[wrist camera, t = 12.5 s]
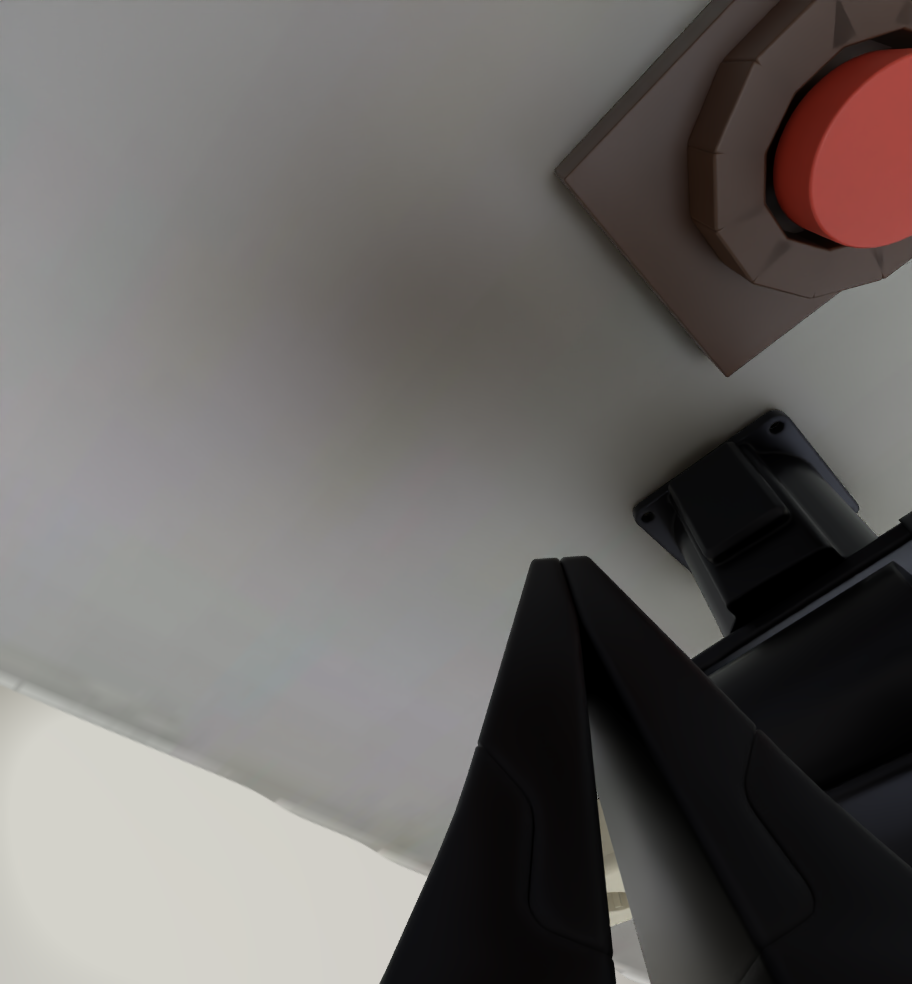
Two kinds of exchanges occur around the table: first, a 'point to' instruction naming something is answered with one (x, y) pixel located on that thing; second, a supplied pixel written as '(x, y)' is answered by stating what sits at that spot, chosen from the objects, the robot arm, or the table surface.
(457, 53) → the table surface
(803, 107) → the red button
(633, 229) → the button box
